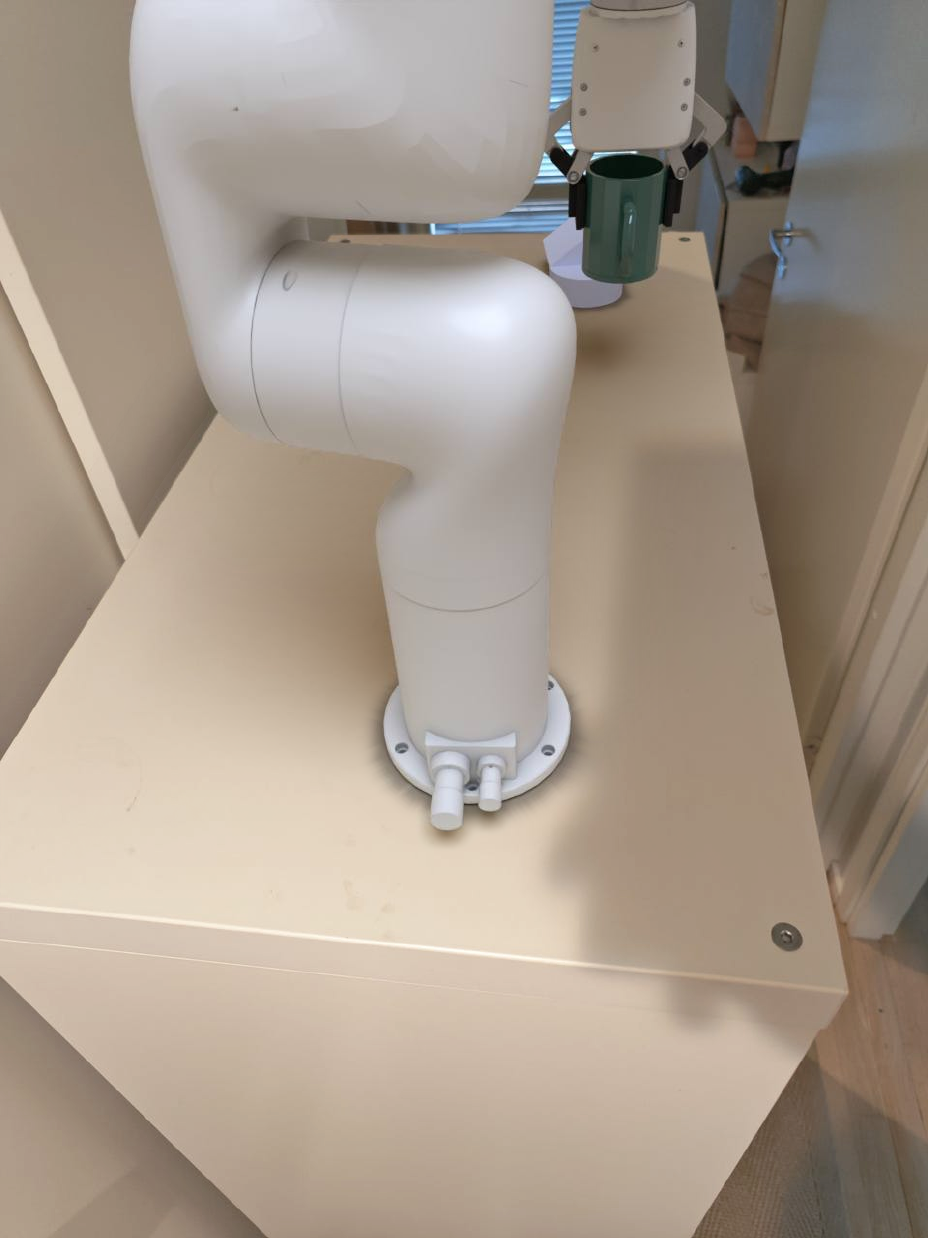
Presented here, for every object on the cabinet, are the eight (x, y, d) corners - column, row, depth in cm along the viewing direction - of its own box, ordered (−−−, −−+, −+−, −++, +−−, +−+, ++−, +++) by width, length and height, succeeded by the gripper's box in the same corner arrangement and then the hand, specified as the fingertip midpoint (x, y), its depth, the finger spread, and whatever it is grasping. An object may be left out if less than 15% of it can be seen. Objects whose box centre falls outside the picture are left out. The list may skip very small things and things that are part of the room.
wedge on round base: (542, 266, 111) (552, 309, 102) (543, 212, 106) (553, 253, 97) (611, 261, 111) (627, 304, 102) (614, 207, 106) (632, 248, 97)
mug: (580, 253, 84) (583, 154, 78) (653, 251, 83) (663, 151, 77) (584, 299, 77) (588, 194, 70) (664, 296, 76) (676, 190, 70)
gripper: (745, -29, 68) (712, 205, 80) (527, -16, 69) (528, 211, 82) (763, -12, 62) (724, 235, 75) (527, 2, 64) (527, 242, 76)
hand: (622, 221), depth 78 cm, fingers closed on mug, 7 cm apart
